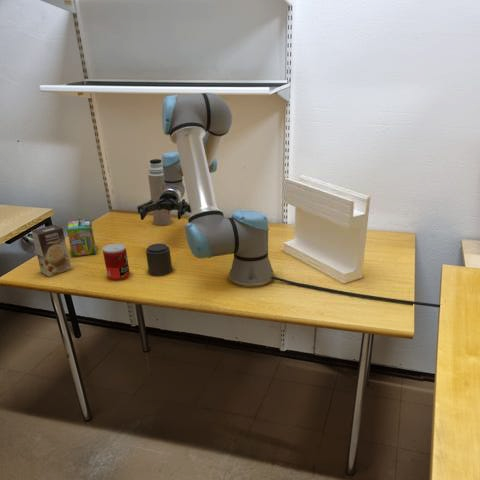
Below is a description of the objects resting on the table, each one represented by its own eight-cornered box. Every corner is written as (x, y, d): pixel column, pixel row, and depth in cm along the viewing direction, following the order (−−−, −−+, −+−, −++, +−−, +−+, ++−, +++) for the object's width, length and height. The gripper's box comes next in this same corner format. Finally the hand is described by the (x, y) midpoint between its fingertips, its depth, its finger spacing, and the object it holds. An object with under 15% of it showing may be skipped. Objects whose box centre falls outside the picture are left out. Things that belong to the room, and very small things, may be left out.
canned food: (125, 281, 167) (120, 252, 161) (103, 280, 168) (98, 250, 163) (133, 272, 173) (129, 243, 168) (113, 271, 175) (108, 242, 169)
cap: (177, 270, 173) (174, 246, 168) (157, 278, 168) (153, 253, 164) (163, 264, 179) (160, 240, 174) (143, 271, 174) (140, 247, 169)
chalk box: (72, 248, 195) (65, 213, 187) (96, 246, 197) (89, 211, 189) (71, 257, 187) (63, 220, 180) (96, 254, 189) (88, 218, 182)
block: (361, 277, 164) (370, 196, 149) (343, 283, 160) (350, 201, 146) (299, 246, 190) (302, 174, 176) (283, 250, 186) (284, 178, 172)
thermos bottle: (175, 221, 221) (168, 158, 207) (164, 226, 215) (156, 162, 201) (161, 219, 224) (154, 157, 210) (150, 224, 219) (142, 161, 205)
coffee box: (48, 277, 172) (37, 234, 164) (40, 272, 176) (29, 230, 168) (72, 269, 177) (62, 227, 169) (64, 264, 181) (54, 223, 173)
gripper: (201, 207, 193) (195, 225, 174) (140, 208, 194) (127, 226, 176) (200, 189, 189) (193, 205, 171) (138, 189, 190) (124, 206, 172)
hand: (160, 216), depth 173 cm, fingers open, 13 cm apart
